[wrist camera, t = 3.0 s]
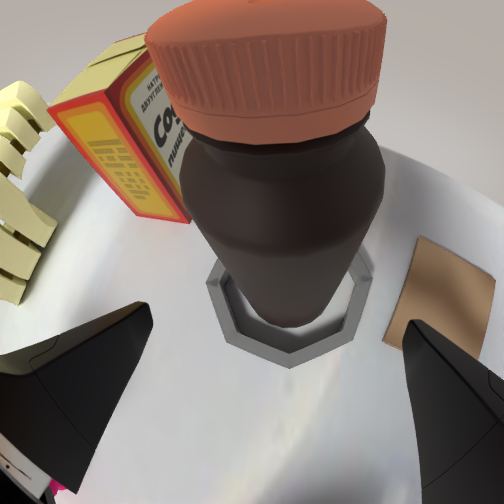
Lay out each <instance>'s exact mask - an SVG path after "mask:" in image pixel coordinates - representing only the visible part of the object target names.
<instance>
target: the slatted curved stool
mask: <svg viewBox="0 0 504 504" xmlns="http://www.w3.org/2000/svg"><path fill="white" fill-rule="evenodd" d="M48 107H49V106H48V105H47V104H46V102H45V101H44V100H43V98H42V97H41V96H40V95H39V94H38V92H37V91H35V90H34V89H33V88H32V87H31V86H30V85H29V84H27V83H25V82H23V81H17V82H15V83H13V84H12V85H10V86H8V87H6V88H4V89H3V90H1V91H0V219H2V220H3V221H4V222H5V223H4V225H3V226H2V225H1V224H0V299H1V300H5V301H8V302H10V303H13V304H15V305H16V306H17V307H18V305H19V302H20V299H21V297H22V295H23V292H24V290H25V287H26V285H27V284H26V282H25V280H24V279H26V280H29V278H30V276H31V274H32V272H33V270H34V268H35V266H36V264H37V261H38V259H39V257H40V256H41V252H40V251H39V250H38V249H37V248H36V247H35V246H34V245H33V244H32V243H31V242H30V241H31V240H32V241H33V242H35V243H37V244H38V245H40V246H42V247H45V246H46V244H47V242H48V240H49V239H50V237H51V235H52V233H53V231H54V230H55V228H56V226H57V221H56V220H54V219H53V218H51V217H50V216H48V215H47V214H45V213H44V212H42V211H41V210H40V209H38V208H37V207H35V206H34V205H33V204H31V203H30V202H28V201H27V199H26V197H25V195H24V193H23V192H22V191H21V190H20V189H18V188H17V187H16V186H15V185H14V184H13V183H12V182H10V181H9V180H8V179H7V177H8V175H9V174H10V173H11V174H13V175H14V176H16V177H18V178H20V179H21V180H22V172H23V168H24V165H25V162H26V159H25V158H24V157H23V156H22V155H23V154H24V152H25V151H29V152H31V150H32V149H33V148H34V146H35V145H36V143H37V142H38V141H39V140H40V139H41V137H40V136H39V135H38V134H39V133H40V132H48V131H49V130H50V129H51V128H52V127H54V126H55V125H56V124H57V123H56V122H55V121H54V120H53V118H52V117H51V116H50V114H49V113H48V112H47V111H46V110H47V109H48ZM2 136H3V137H5V138H6V139H8V140H9V141H10V143H9V142H8V141H7V140H6V139H5V138H3V137H2Z"/></svg>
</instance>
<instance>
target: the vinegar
mask: <svg viewBox="0 0 504 504" xmlns="http://www.w3.org/2000/svg"><path fill="white" fill-rule="evenodd" d="M386 25H387V19H386V16H385V14H383V13H382V11H381V10H380V9H378V8H377V7H375V6H374V5H373V4H372V3H370V2H368V1H366V0H194V1H192V2H189V3H187V4H184V5H182V6H180V7H178V8H175V9H174V10H172V11H170V12H169V13H167V14H165V15H164V16H162V17H160V18H159V19H158V20H157V21H156V22H155V23H154V24H153V25H152V26H150V27H149V29H148V32H146V35H144V42H145V44H146V47H147V49H148V51H149V54H150V56H151V58H152V60H153V63H154V65H155V67H156V70H157V72H158V74H159V77H160V79H161V81H162V83H163V86H164V88H165V91H166V93H167V95H168V98H169V100H170V102H171V104H172V107H173V109H174V111H175V113H176V115H177V116H178V117H179V118H180V119H181V120H182V122H183V126H184V128H185V129H186V131H187V132H188V133H189V134H190V135H191V136H192V137H193V138H192V140H191V141H190V143H189V144H188V146H187V148H186V149H185V152H184V156H183V160H182V164H181V168H180V173H179V182H180V187H181V193H182V199H183V204H184V206H185V208H186V210H187V211H188V213H189V214H190V216H191V217H192V219H193V220H194V222H195V223H196V225H197V227H198V228H199V230H200V231H201V233H202V234H203V236H204V237H205V239H206V240H207V242H208V243H209V245H210V246H211V248H212V249H213V251H214V252H215V254H216V255H217V257H218V258H219V260H220V261H221V262H222V264H223V265H224V267H225V268H226V270H227V271H228V273H229V274H230V276H231V277H232V279H233V280H234V282H235V283H236V284H237V286H238V287H239V289H240V290H241V292H242V293H243V295H244V296H245V297H246V299H247V300H248V302H249V303H250V305H251V306H252V307H253V309H254V310H255V312H256V313H257V314H258V316H259V317H261V318H262V319H264V320H265V321H266V322H268V323H269V324H272V325H275V326H279V327H282V328H297V327H300V326H303V325H306V324H308V323H311V322H312V321H313V320H315V319H316V318H317V317H318V316H320V315H321V314H322V312H323V311H324V309H325V308H326V306H327V305H328V303H329V302H330V300H331V298H332V297H333V295H334V293H335V291H336V290H337V288H338V286H339V284H340V282H341V281H342V279H343V277H344V275H345V273H346V272H347V270H348V268H349V266H350V264H351V262H352V260H353V258H354V257H355V255H356V253H357V251H358V249H359V247H360V245H361V243H362V241H363V239H364V237H365V235H366V233H367V231H368V229H369V227H370V225H371V223H372V221H373V218H374V216H375V214H376V212H377V210H378V208H379V206H380V203H381V201H382V199H383V193H384V181H385V165H384V162H383V159H382V156H381V153H380V150H379V147H378V144H377V142H376V141H375V139H374V138H373V136H372V135H371V134H370V133H369V131H368V130H367V129H366V128H365V127H364V125H365V123H366V122H367V120H368V119H369V116H370V108H371V107H372V106H373V105H374V103H375V98H376V93H377V87H378V82H379V76H380V75H379V74H380V69H381V63H382V56H383V49H384V42H385V33H386Z"/></svg>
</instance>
